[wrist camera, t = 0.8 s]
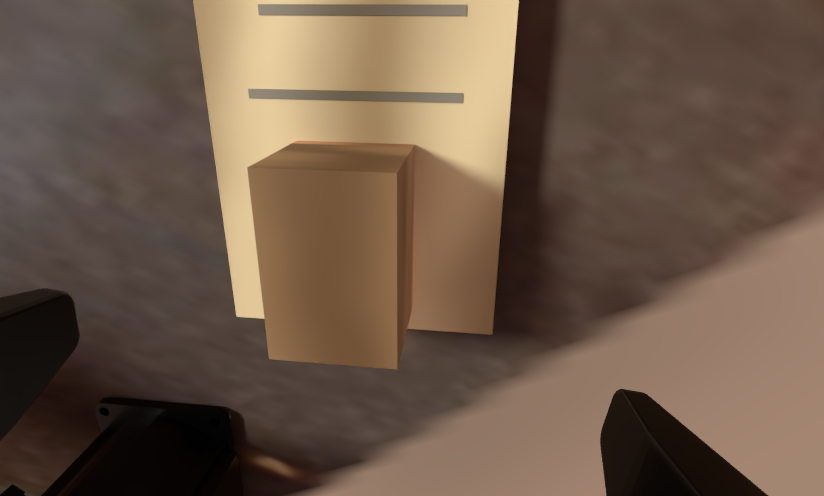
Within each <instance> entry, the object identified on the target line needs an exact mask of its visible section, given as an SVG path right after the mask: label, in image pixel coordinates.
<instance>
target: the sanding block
mask: <svg viewBox="0 0 824 496" xmlns="http://www.w3.org/2000/svg"><path fill="white" fill-rule="evenodd" d="M414 161H415V144H387V143H356V142H324V141H295V142H293V143H291V144H290V145H288V146H286V147H284V148H282V149H280V150H279V151H277V152H275V153H273V154H271V155H269V156H268V157H266V158H264V159H262V160H260V161H258V162H257V163H255V164H253V165H251V166H249V167H247V170H248V179H249V188H250V196H251V205H252V214H253V223H254V231H255V240H256V249H257V258H258V266H259V275H260V284H261V293H262V301H263V310H264V319H265V328H266V336H267V345H268V354H269V359H274V360H286V361H299V362H312V363H324V364H337V365H349V366H362V367H375V368H387V369H397V368H398V364H399V360H400V356H401V352H402V348H403V344H404V340H405V336H406V332H407V328H408V324H409V320H410V316H411V312H412V307H413V251H414Z"/></svg>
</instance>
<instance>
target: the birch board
mask: <svg viewBox="0 0 824 496" xmlns="http://www.w3.org/2000/svg"><path fill="white" fill-rule="evenodd" d="M193 3H194V10H195V18H196V25H197V32H198V39H199V47H200V54H201V61H202V69H203V76H204V83H205V90H206V98H207V105H208V112H209V119H210V127H211V134H212V141H213V149H214V156H215V163H216V170H217V178H218V185H219V192H220V199H221V207H222V214H223V221H224V229H225V236H226V243H227V250H228V258H229V265H230V272H231V279H232V287H233V294H234V301H235V309H236V316H237V317H249V318H263V319H264V310H263V301H262V293H261V284H260V275H259V266H258V258H257V249H256V240H255V231H254V223H253V214H252V205H251V196H250V188H249V179H248V170H247V167H249V166H251V165H253V164H255V163H257V162H258V161H260V160H262V159H264V158H266V157H268V156H269V155H271V154H273V153H275V152H277V151H279V150H280V149H282V148H284V147H286V146H288V145H290V144H291V143H293V142H295V141H324V142H356V143H387V144H415V161H414V251H413V307H412V312H411V316H410V320H409V324H408V328H407V329H419V330H433V331H447V332H461V333H475V334H490V335H492V332H493V320H494V307H495V295H496V282H497V269H498V257H499V244H500V232H501V219H502V206H503V194H504V181H505V168H506V156H507V143H508V131H509V118H510V105H511V93H512V80H513V68H514V55H515V42H516V30H517V17H518V5H519V0H193Z"/></svg>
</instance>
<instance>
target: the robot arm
mask: <svg viewBox="0 0 824 496" xmlns="http://www.w3.org/2000/svg"><path fill="white" fill-rule="evenodd" d="M79 336H80V334H79V327H78V321H77V315H76V308H75V302H74V299H73V297H72V296H71V294H69V293H67V292H64V291H58V290H53V289H47V288H46V289H37V290H33V291H28V292H24V293H19V294H15V295H10V296H5V297H1V298H0V441H1V439H2V438H3V437H4V436H5V435H6V434H7V433H8V432H9V431H10V430H11V429H12V427H13V426H14V425H15V424H16V423H17V422H18V420H19V419H20V418H21V417H22V416H23V414H24V413H25V412H26V411H27V409H28V408H29V407H30V406H31V404H32V403H33V402H34V401H35V399H36V398H37V397H38V395H39V394H40V393H41V392H42V390H43V389H44V388H45V387H46V385H47V384H48V383H49V382H50V380H51V379H52V378H53V376H54V375H55V374H56V373H57V371H58V370H59V369H60V368H61V366H62V365H63V364H64V363H65V361H66V360H67V359H68V357H69V356H70V355H71V354H72V352H73V351H74V350H75V348H76V346H77V344H78V341H79ZM94 410H95V414H96V418H97V421H98V425H99V429H100V432H101V434H100V435H99V436H98V437H97V438H96V439H95V440H94V441H93V442H92V444H91V445H90V446H89V447H88V448H87V449H86V450H85V451H84V452H83V453H82V454H81V455H80V456H79V457H78V458H77V459H76V460H75V461H74V462H73V463H72V464H71V465H70V466H69V467H68V468H67V470H66V471H65V472H64V473H63V474H62V475H61V476H60V477H59V478H58V479H57V480H56V481H55V482H54V483H53V484H52V485H51V486H50V487H49V488H48V489H47V490H46V491H45V492H44V493H43V494H42V495H41V496H241V495H242V493H243V488H242V482H241V475H240V469H239V462H238V456H237V453H236V452H235V450H234V445H233V439H232V433H231V426H230V420H229V416H228V414H227V412H226V411H224V410H223V409H221V408H215V407H204V406H193V405H182V404H171V403H160V402H149V401H138V400H127V399H116V398H103V399H102V400H101V401H100V402H98V403H97V404H96V406H95V407H94ZM215 418H217V419H218V420H216V419H215ZM600 444H601V453H602V462H603V470H604V479H605V487H606V496H768V495H767V494H766V493H764V492H763V491H762V490H761V489H759V488H758V487H757V486H756V485H755V484H753V483H752V482H751V481H750V480H749V479H748V478H746V477H745V476H744V475H743V474H742V473H740V472H739V471H738V470H737V469H736V468H734V467H733V466H732V465H731V464H730V463H728V462H727V461H726V460H725V459H724V458H722V457H721V456H720V455H719V454H718V453H716V452H715V451H714V450H713V449H711V448H710V447H709V446H708V445H707V444H706V443H704V442H703V441H702V440H701V439H699V438H698V437H697V436H696V435H695V434H693V433H692V432H691V431H690V430H689V429H687V428H686V427H685V426H684V425H683V424H682V423H680V422H679V421H678V420H677V419H676V418H675V417H673V416H672V415H671V414H670V413H668V412H667V411H666V410H665V409H664V408H663V407H661V406H660V405H659V404H658V403H656V402H655V401H654V400H653V399H652V398H651V397H649V396H648V395H647V394H645V393H642V392H636V391H630V390H625V389H619V390H618V391H616V393H615V394H614V396H613V398H612V401H611V404H610V407H609V410H608V413H607V416H606V419H605V421H604V424H603V427H602V431H601V438H600ZM24 493H25V492H24V491H23V490H21V489H20V488H18V487H16V486H15V485H13V484H12V485H11V486H10V487H9V488H8V489H6V490H5V491H4V492H3V493H2V494H1V495H0V496H25V495H24Z"/></svg>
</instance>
